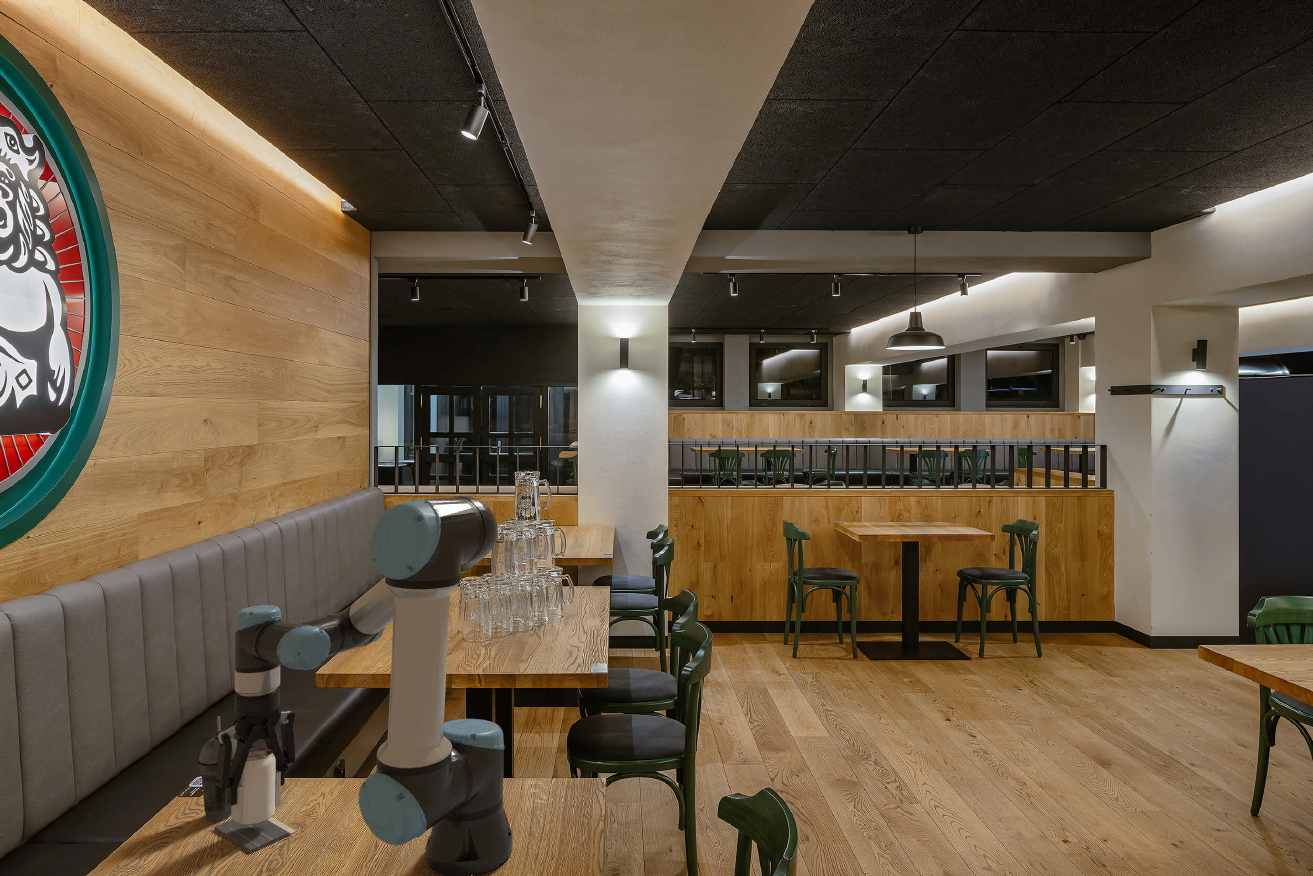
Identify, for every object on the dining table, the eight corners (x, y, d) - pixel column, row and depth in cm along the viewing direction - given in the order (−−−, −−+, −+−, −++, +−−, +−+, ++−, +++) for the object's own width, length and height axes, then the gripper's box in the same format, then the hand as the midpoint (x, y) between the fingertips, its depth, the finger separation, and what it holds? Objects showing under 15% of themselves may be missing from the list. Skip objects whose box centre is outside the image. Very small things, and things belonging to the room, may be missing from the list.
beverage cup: (244, 804, 146) (245, 705, 146) (235, 822, 139) (236, 719, 139) (203, 809, 144) (204, 709, 144) (192, 828, 137) (193, 723, 137)
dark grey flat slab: (295, 832, 135) (295, 829, 135) (250, 853, 129) (250, 850, 129) (259, 811, 143) (259, 808, 143) (214, 830, 136) (214, 826, 136)
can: (257, 828, 131) (258, 762, 131) (227, 824, 133) (228, 759, 133) (282, 810, 138) (283, 748, 138) (253, 806, 139) (254, 744, 139)
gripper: (296, 672, 145) (295, 786, 145) (192, 700, 129) (191, 828, 129) (317, 679, 141) (316, 797, 141) (212, 709, 125) (211, 842, 125)
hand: (256, 812), depth 135 cm, fingers closed on can, 6 cm apart
